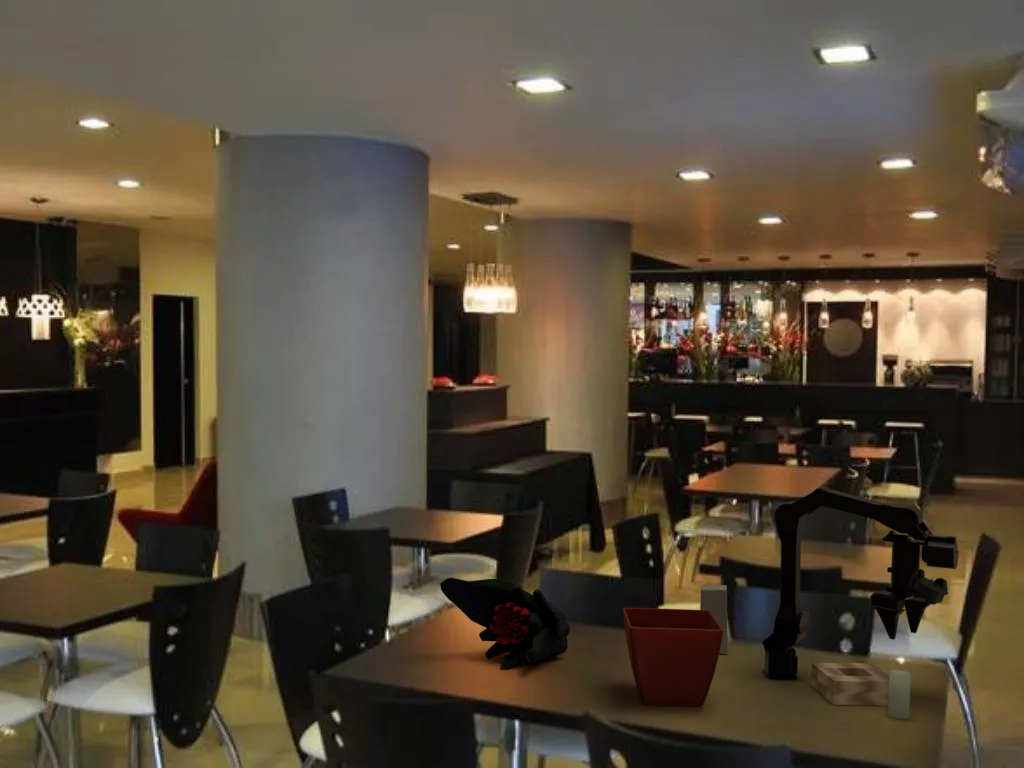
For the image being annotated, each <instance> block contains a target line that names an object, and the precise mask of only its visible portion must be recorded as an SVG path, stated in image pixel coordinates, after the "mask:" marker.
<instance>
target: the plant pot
mask: <svg viewBox="0 0 1024 768" xmlns="http://www.w3.org/2000/svg"><path fill="white" fill-rule="evenodd" d="M622 611H623V621H624V631H625V637H626V644H627V645H626V646H627V650H628V656H629V661H630V666H631V670H632V675H633V680H634V683H635V686H636V689H637V693H638V697H639V699H640V700H639V701H640V703H641V704H643V705H657V706H658V705H659V706H660V705H661V706H685V707H686V706H687V707H702V706H703V705H704V704H705V702H706V699H707V696H708V694H709V691H710V689H711V686H712V683H713V679H714V675H715V672H716V668H717V664H718V661H719V655H720V654H719V652H720V647H721V641H722V635H723V628H722V627H721V626H720V624H719V623H718V621H717V620H716V619H715V617H714V616H713V614H712V613H711V611H708V610H700V609H690V608H689V609H688V608H687V609H686V608H684V609H683V608H661V607H660V608H657V607H656V608H654V607H650V608H649V607H624V608H623V609H622Z"/></svg>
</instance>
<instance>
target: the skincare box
mask: <svg viewBox="0 0 1024 768" xmlns="http://www.w3.org/2000/svg"><path fill="white" fill-rule="evenodd" d="M727 586H728V585H725V584H701V586H700V603H699V604H700V605H699V606H700V607H699V610H708V611H711V613H712V614H713V616H714V617H715V619H716V620H717V621H718V623H719V624H720V626H721V627H722V628H723V635H722V641H721V647H720V652H719V655H728V651H729V649H728V647H729V646H728V642H729V641H728V637H729V636H728V590H727V589H728V587H727Z"/></svg>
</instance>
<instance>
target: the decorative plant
mask: <svg viewBox="0 0 1024 768" xmlns="http://www.w3.org/2000/svg"><path fill="white" fill-rule="evenodd" d="M439 585H440V591H441V592H442V594H444V596H445V597H446V598H447V600H449V602H451V603H453V604H454V605H455V606H456V607H457V608H458V609H459V610H460V611H461V613H463V614H464V615H465V617H467V618H468V619H469V620H470V621H471V622H473V623H475V624H477V625H480V626H481V627H484V628H485V629H483V630H481V632H479V634H478V637H479V639H480V640H481V641H482V642H494V643H493V644H492V645H491V646H489V648H488V649H487V650H486V651H485V653H484V657H485V658H486V659H487V660H488V661H489V660H492V659H494V658H498V657H500V656H502V655H504V657H503V659H502V661H501V665H500V667H501V668H502V669H504V670H505V669H507V670H509V669H510V668H512V667H513V666H515V665H516V664H517V663H519V662H520V661H522V659H523V660H524V659H525V658H526V659H527V661H528V662H529V664H532V663H537V662H538V661H539V660H543V659H546V658H547V657H553V658H554V657H557V656H560V655H562V654H564V653H566V651H567V650H568V647H569V646H568V636H569V633H570V631H571V626H570V624H569V623H568V622H567V620H566V613H565V612H564V611H563V610H562V609H558V608H556V607H554V606H553V604H552V603H551V602H550V601H548V600H547V599H546V597H545V596H544V594H543V592H542V591H541V590H540V589H539V588H536V589H534V590H533V592H532V594H531V593H530V592H528V591H526V590H525V589H523V588H522V586H521V585H518V584H514V583H513V582H509V581H505V580H502V579H498V578H485V579H484V578H483V579H477V580H476V579H475V580H464V579H460V578H456V577H447V578H446V579H444V580H443V581H441V582H440V584H439ZM505 654H506V655H505Z"/></svg>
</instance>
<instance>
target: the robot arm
mask: <svg viewBox="0 0 1024 768" xmlns="http://www.w3.org/2000/svg"><path fill="white" fill-rule="evenodd" d="M822 507H827V508H829V509H830V508H831V509H835V510H837V511H842V512H843V513H845V512H846V513H847V514H852V515H856V516H860V517H863V518H867V519H871V520H873V521H876V522H878V523H879V524H881V525H883V526H885V527H886V528H889V529H891V530H889V531H888V533H887V534H886V535H885V536H883V537H882V539H881V540H882V541H883V542H887V543H888V542H889V543H891V562H890V563H891V565H890V566H889V567H887V568H886V569H887V570H886V573H888V574H889V573H890V585H887V586H886V590H879V591H875V592H873V593H872V594H871V595H870V596H869V599H870V601H869V605H870V606H873V609H874V610H875V612H876V613H877V614H878V617H879V618H880V620H881V622H882V624H883V626H884V628H885V631H886V634H887V636H888V638H889V640H895V639H896V637H897V630H898V625H899V624H898V623H899V618H900V615H902V614H903V613H904V612H905V614H906V618H907V622H908V623H907V624H908V626H909V630H910V633H912V634H917V632H918V629H919V627H920V623H921V621H922V618H923V615H924V613H925V610H926V609H927V608H928V607H930V606H931V605H933V606H935V605H936V604H942V602H943V600H944V597H945V596H947V595H949V591H948V590H949V588H948V583H947V582H948V581H947V580H946V579H944V578H942V577H938V578H936V579H935V580H933V579H932V578H931V579H929V578H927V577H925V571H924V569H922V568H920V567H921V565H920V563H921V561H922V562H923V563H925V564H926V566H927V567H931V568H941V569H949V570H956V569H957V568H958V564H959V563H958V562H959V553H960V552H959V550H958V548H959V547H958V543H957V536H955V535H953V536H952V535H949V536H944V535H935V534H933V533H932V531H931V530H930V529H929V527H928V526H927V524H926V523H925V521H924V515H923V512H922V511H921V509H920V508H919V507H918V506H917V505H914V504H910V503H899V502H898V503H897V502H880V501H877V500H873V499H870V498H869V499H868V498H865V497H862V496H857V495H855V494H854V495H853V494H850V493H847V492H843V491H838V490H835V489H831V488H830V487H828V486H821V487H817V488H815V489H814V490H812V492H810V493H808V494H807V495H805V496H803V497H801V498H799V499H798V500H795V501H794V500H793V501H790V502H789V501H788V502H785V503H782V504H780V505H779V506H778V507H776V508H775V510H774V522H775V528H776V533H777V535H778V538H779V541H780V584H779V586H780V587H779V588H780V592H779V594H780V596H779V599H780V600H779V601H780V602H779V607H778V609H777V613H776V616H775V620H774V625H773V630H772V634H770V635H768V636H767V638H765V639H764V640H763V641H762V646H763V650H764V668H762V669H761V672H762V673H763V674H764V675H765V676H766V677H767V678H769V679H770V680H798V677H799V676H797V675H798V670H799V669H798V668H799V667H798V666H799V657H798V656H797V650H796V649H795V647H796V646H797V645H798V642H799V641H801V640H802V639H804V638H805V636H806V634H807V631H809V629H810V627H809V616H810V611H803V608H802V605H801V567H802V566H801V559H802V557H801V555H802V553H801V552H802V551H801V550H802V547H801V546H802V544H801V543H802V540H803V536H804V534H805V531H806V528H807V522H808V516H809V515H812V514H813V513H815V512H817V511H818V510H819V509H821V508H822Z"/></svg>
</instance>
